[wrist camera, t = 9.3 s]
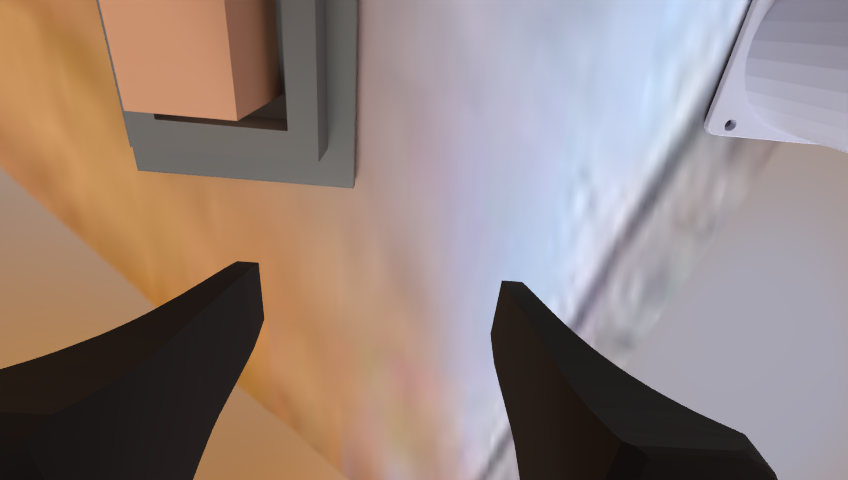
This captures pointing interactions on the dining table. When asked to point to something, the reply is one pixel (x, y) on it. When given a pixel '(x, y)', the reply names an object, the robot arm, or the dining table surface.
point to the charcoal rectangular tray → (273, 111)
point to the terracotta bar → (194, 55)
